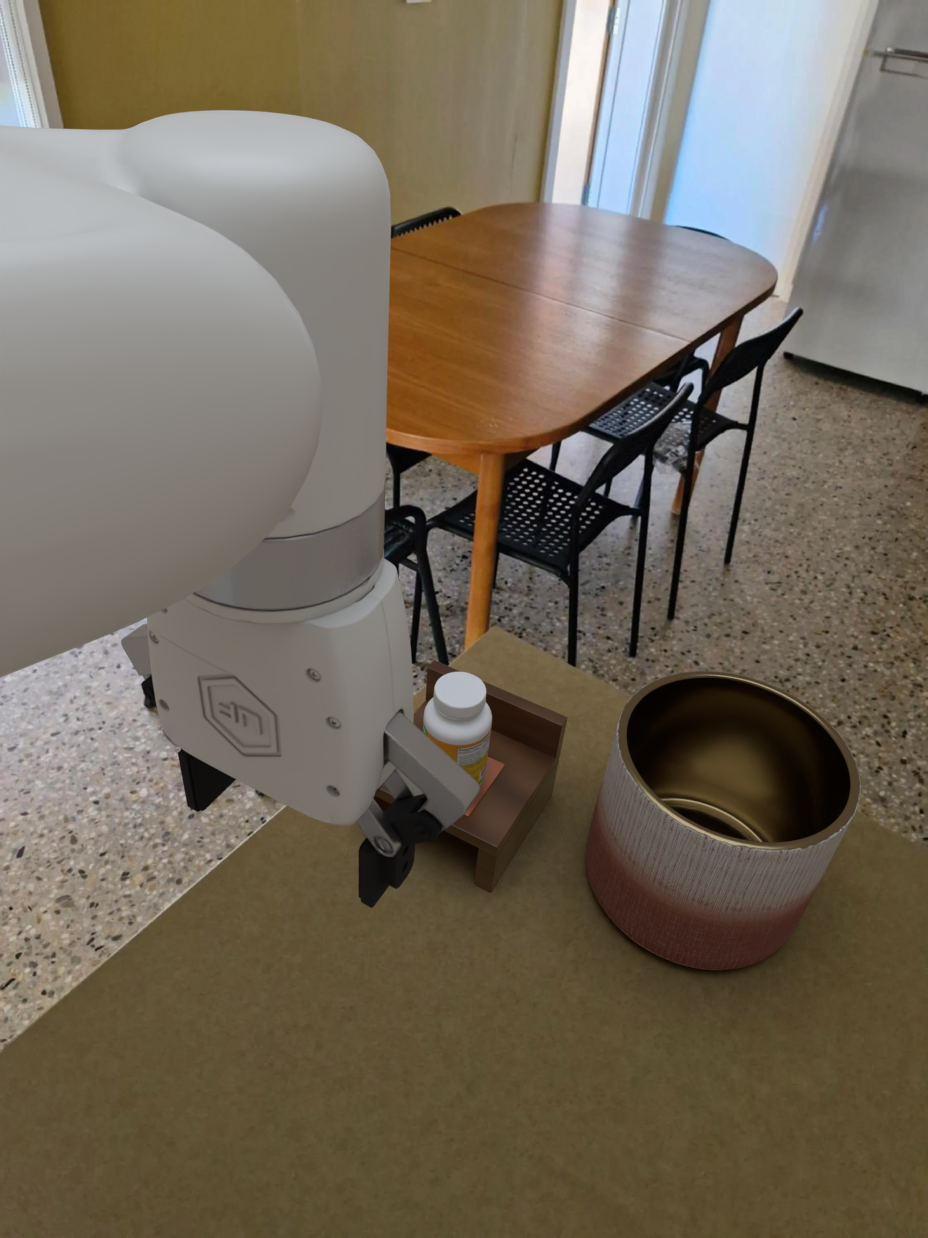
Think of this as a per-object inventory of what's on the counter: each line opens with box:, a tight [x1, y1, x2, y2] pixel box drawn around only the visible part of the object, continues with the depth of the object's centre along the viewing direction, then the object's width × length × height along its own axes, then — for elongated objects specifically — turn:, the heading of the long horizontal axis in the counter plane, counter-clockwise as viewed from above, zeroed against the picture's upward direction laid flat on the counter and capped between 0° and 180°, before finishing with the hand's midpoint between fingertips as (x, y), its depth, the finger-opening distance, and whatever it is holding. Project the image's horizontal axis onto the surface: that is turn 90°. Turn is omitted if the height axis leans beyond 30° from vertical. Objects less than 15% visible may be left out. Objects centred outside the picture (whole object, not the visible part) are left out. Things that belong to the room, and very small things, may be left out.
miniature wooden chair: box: [374, 659, 569, 893], centre depth 75 cm, size 12×13×10 cm
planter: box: [585, 670, 862, 971], centre depth 69 cm, size 18×18×16 cm
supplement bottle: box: [423, 671, 492, 786], centre depth 70 cm, size 5×5×10 cm
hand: (297, 834), depth 41 cm, fingers open, 9 cm apart
